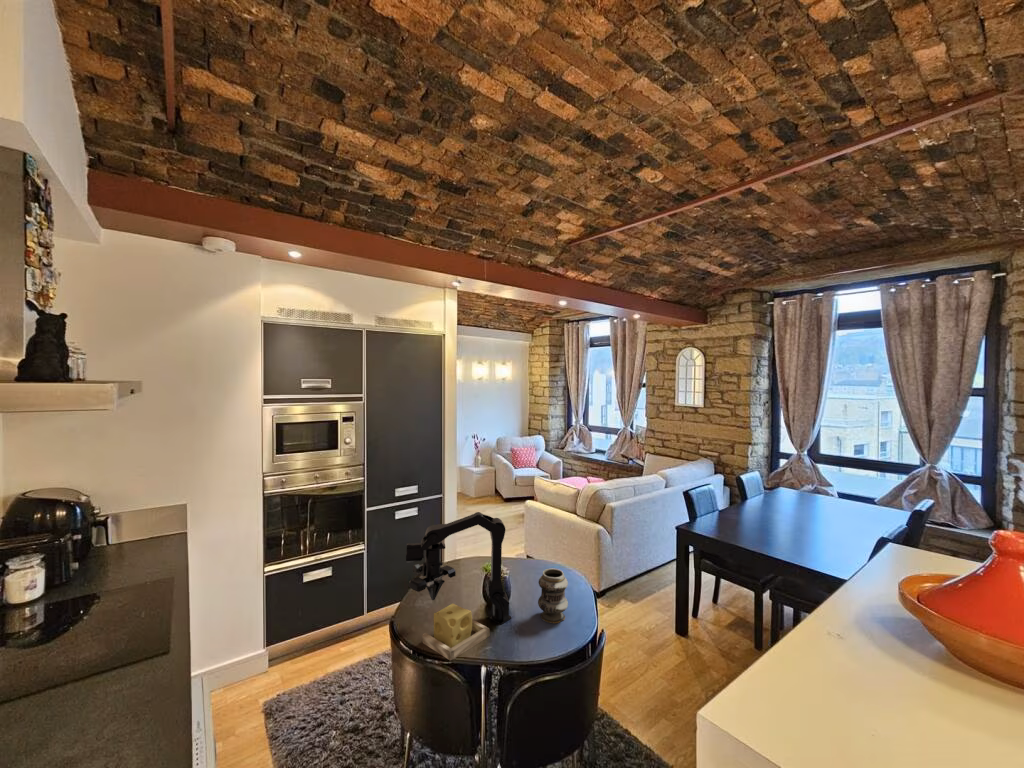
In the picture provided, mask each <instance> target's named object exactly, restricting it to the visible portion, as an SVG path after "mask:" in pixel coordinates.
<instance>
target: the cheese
mask: <svg viewBox="0 0 1024 768" xmlns="http://www.w3.org/2000/svg"><path fill="white" fill-rule="evenodd" d="M472 619H473V614H472V610H470V609H467V608H463V607H461V606H459V605H457V604H455V603H451V604H450V605H448V606H446V607H444V608H442V609H440V610H439V611H436V612H434V613H433V638H435V639H437V640H438V641H440V642H442V643H443V644H445V645H446V646H448V647H450V648H452V647H454V646H455V645H457V644H459V643H460V642H462V641H464V640H465V639H467V638H469V637H470V636H472V631H473V630H472Z"/></svg>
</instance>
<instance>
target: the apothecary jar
mask: <svg viewBox="0 0 1024 768" xmlns="http://www.w3.org/2000/svg"><path fill="white" fill-rule="evenodd" d="M538 586H539V587H540V588H541V595H540V596H539V598H538V600H537V604H538V608H540V610H541V611H542V612H541V614H540V618H541V620H543V622H545V623H549V624H560V623H561V622H564V621H565V619H566V615H565V614H564V612H565V611H566V610H567V609H568V607H569V602H568V599H567V597H566V596H565V595H566V589H567V587H568V586H569V582H568V579H567V578H566V576H565V574H564V572H563V570H561V569H559V568H552V567H551V568H547V569H544V570H543V571H542V575H541V576H540V577H539V579H538Z"/></svg>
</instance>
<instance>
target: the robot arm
mask: <svg viewBox="0 0 1024 768" xmlns="http://www.w3.org/2000/svg"><path fill="white" fill-rule="evenodd" d="M476 526H480V527H481V528H483V529H485V530H486V531H488V532H489V534H490V539H491V550H490V551H491V555H490V558H491V560H490V563H491V564H490V578H489V579H485V581H486V587H485V591H486V594H487V597H488V598H489V601H490V602H491V604H492V605H491V616H489V620H491V621H493V622H495V623H497V624H499V625H503V624H504V623H506V622H508V621H509V620H511V619H512V616H511V615H509V614H510V601H509V598H508V595H507V593H506V592H505V591H504V588H503V582H502V554H503V553H502V552H503V551H502V548H503V547H502V546H503V545H502V544H503V542H504V539H505V534H506V526H505V524H504V522H503V520H502V519H501V518H499V517H492V516H490V515H487V514H484V513H482V512H479V511H476V512H475V513H472V514H470V515H468V516H464V517H462V518H459V519H456V520H454V521H450V522H448V523H438V524H432V525H430V526H428V527H427V528H426V530H425V534H424V536H423V537H422V539H421V540H420V542H416V543H414V542H413V543H411V542H408V543H406V552H405V563H416V562H417V563H418V562H421V561H422V560H423V559H424V557H425V561H424V562H423V563H422V564H419V563H418V564H413V565H412V573H413V574H416V575H421V576H423V577H425V578H422V577H414V578H412V579H410V580H409V582H408V586H409V587H408V588H409V589H412V590H413V591H415V592H417V593H420V592H421V591H424V590H426V589H427V592H428V594H429V597H430V599H431V601H435V600H436V598H437V596H438V594H439V592H440V590H441V588H442V587H443V584H444V583H445V580H443V577H445V576H447V577H448V578H450V579H451V578H453V577H456V576H457V574H456V568H454V567H452V566H450V565H444V566H443V564H444V562H442V560H441V551H442V550H445V549H446V544H445V543H444V542H443V541H444V540H445V539H447V538H448V537H449V536H451V535H455V534H457V533H460V532H462V531H465V530H467V529H470V528H473V527H476ZM424 552H425V553H424Z"/></svg>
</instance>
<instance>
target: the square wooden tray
mask: <svg viewBox="0 0 1024 768" xmlns="http://www.w3.org/2000/svg"><path fill="white" fill-rule="evenodd" d="M471 631H472V632H475V633H473V634H471V636H470V637H469V638H467V639H465V640H464V641H462V642H460V643H459V644H457V645H455V646H454V647H452V648H450V647H448V646H446V645H445V643H442V642H440V641H438V640H437V639H435V638H434V636H432V635H430V634H428V633H427V632H424V633H423V634H422V644H423V645H424V646H426V647H428V648H430V649H432V650H433V651H434V652H435V653H438V654H439V655H441V656H442V657H444V658H446V659H447V660H449V661H452V660H454V659H456V658H457V657H459V656H460V655H462V654H463V653H465V652H466V651H468V650H471V649H472V648H473V647H475V646H476V645H478V644H480V643H481V642H483V641H484V640H486V639H487V638H489V637H490V628H489V627H487V626H486V625H484V624H482V623H481V622H478V621H476V620H475V619H473V618H472V630H471Z"/></svg>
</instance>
